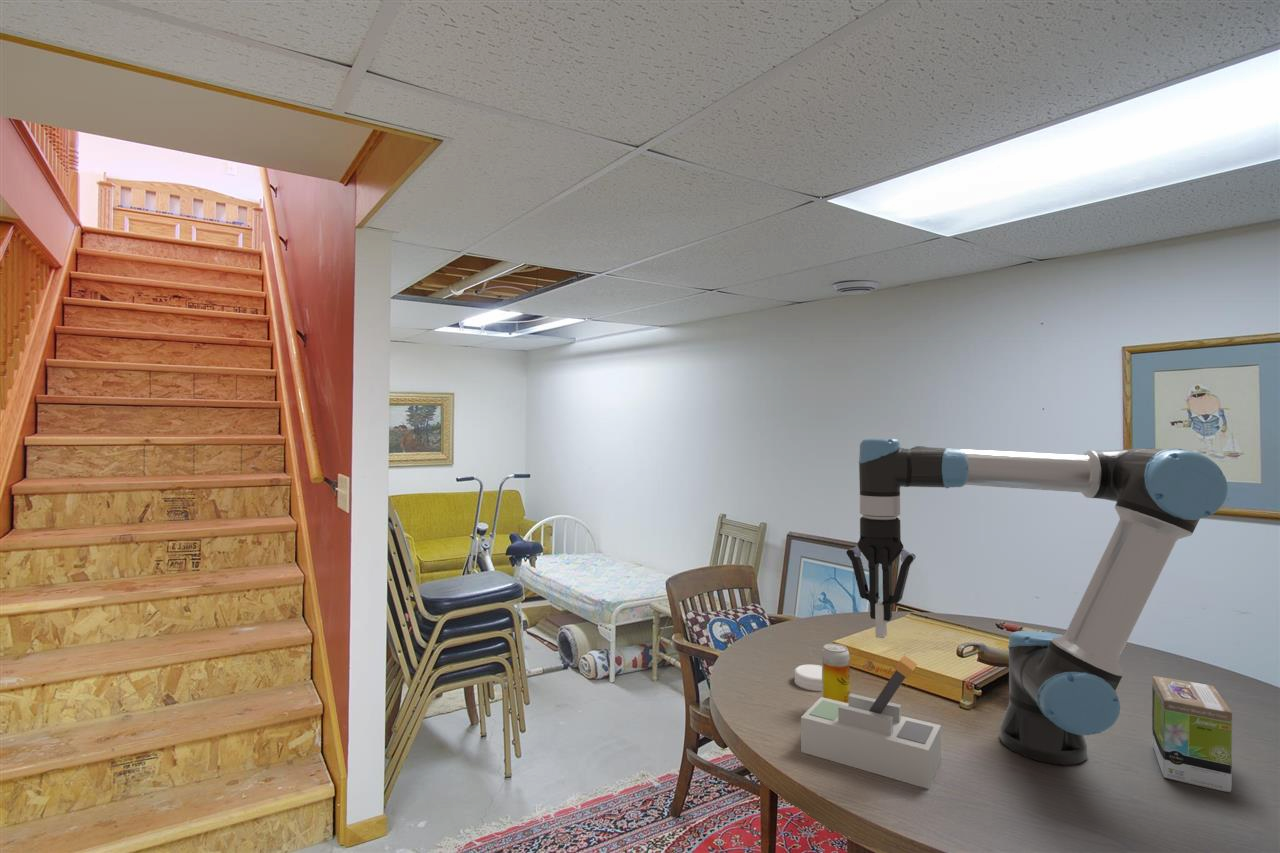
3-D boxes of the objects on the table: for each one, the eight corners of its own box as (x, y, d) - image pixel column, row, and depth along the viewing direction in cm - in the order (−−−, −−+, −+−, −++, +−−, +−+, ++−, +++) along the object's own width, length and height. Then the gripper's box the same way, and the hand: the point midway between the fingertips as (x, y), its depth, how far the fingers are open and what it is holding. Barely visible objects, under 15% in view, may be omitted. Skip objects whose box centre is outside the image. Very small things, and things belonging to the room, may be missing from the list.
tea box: (1234, 795, 114) (1233, 711, 115) (1162, 779, 120) (1161, 699, 120) (1215, 758, 127) (1214, 683, 127) (1150, 745, 133) (1150, 673, 133)
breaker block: (941, 761, 126) (940, 710, 126) (928, 789, 117) (928, 733, 117) (821, 729, 140) (820, 683, 140) (801, 751, 130) (800, 702, 130)
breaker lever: (880, 718, 129) (917, 664, 125) (875, 725, 126) (913, 670, 122) (868, 708, 130) (904, 654, 127) (862, 715, 127) (899, 660, 123)
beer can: (851, 719, 145) (850, 652, 145) (823, 717, 146) (822, 650, 146) (848, 708, 151) (847, 644, 151) (821, 706, 152) (820, 642, 152)
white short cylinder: (839, 682, 167) (839, 668, 167) (828, 695, 159) (828, 681, 159) (801, 674, 172) (801, 661, 172) (789, 686, 164) (788, 673, 164)
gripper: (919, 516, 127) (920, 636, 127) (852, 512, 134) (853, 625, 134) (910, 521, 121) (912, 647, 120) (841, 516, 128) (842, 635, 128)
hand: (881, 635), depth 127 cm, fingers closed
